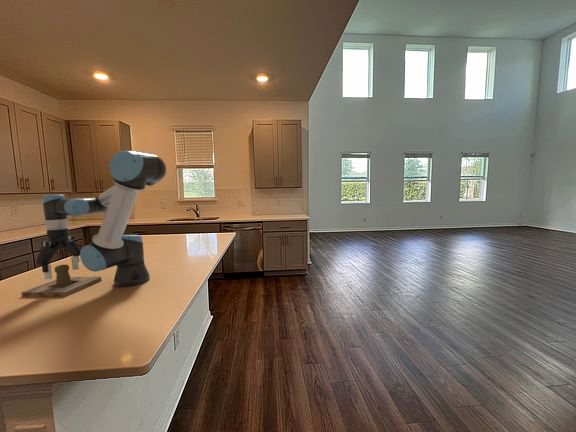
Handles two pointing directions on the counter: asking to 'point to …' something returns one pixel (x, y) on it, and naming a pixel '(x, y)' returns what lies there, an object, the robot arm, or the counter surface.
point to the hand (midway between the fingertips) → (63, 274)
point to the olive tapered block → (62, 276)
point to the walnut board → (52, 291)
